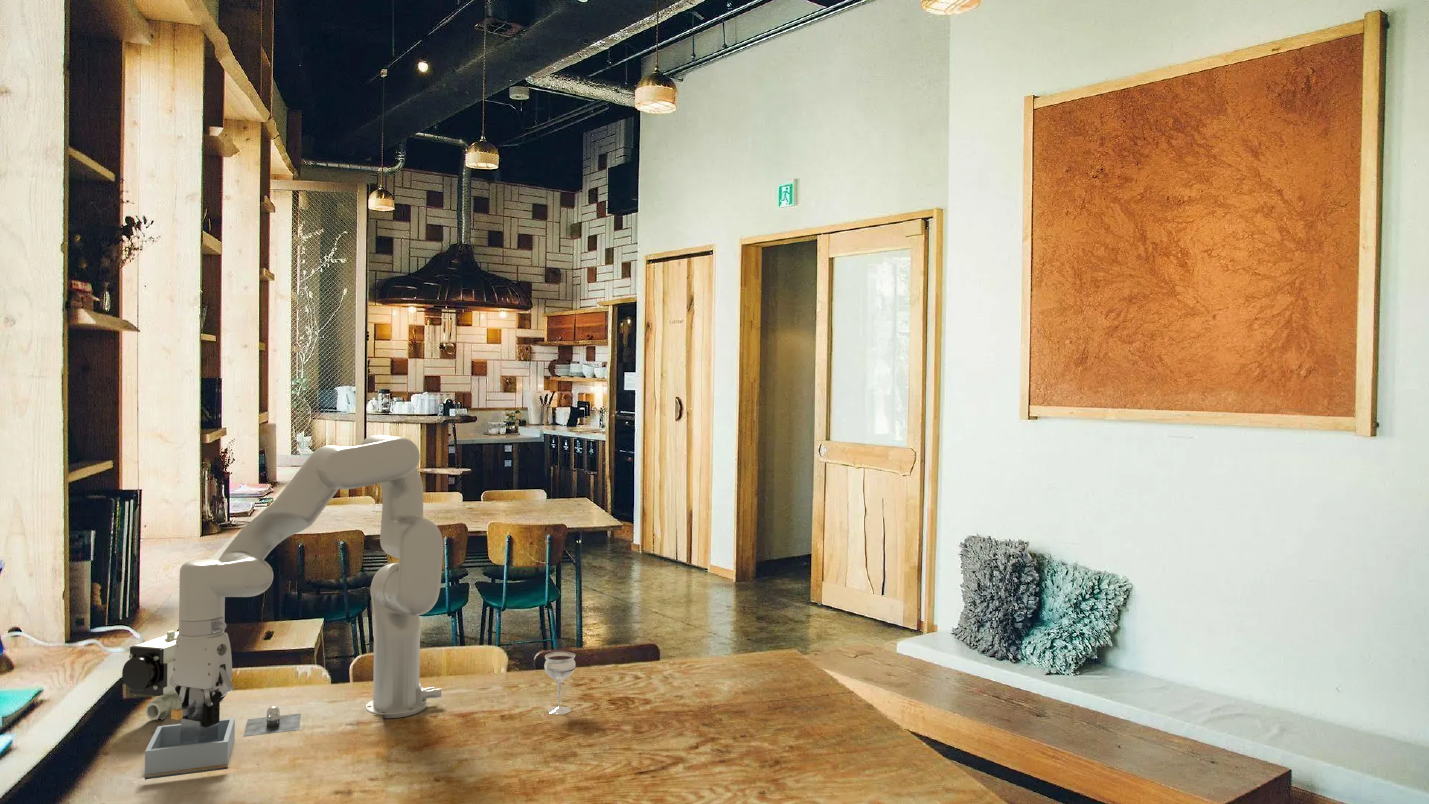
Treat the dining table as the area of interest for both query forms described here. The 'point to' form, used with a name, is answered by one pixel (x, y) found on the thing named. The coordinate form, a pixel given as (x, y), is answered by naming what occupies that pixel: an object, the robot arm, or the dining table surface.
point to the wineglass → (559, 674)
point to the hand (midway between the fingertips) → (200, 722)
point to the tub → (187, 750)
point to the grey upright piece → (194, 720)
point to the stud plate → (263, 729)
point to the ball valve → (153, 674)
